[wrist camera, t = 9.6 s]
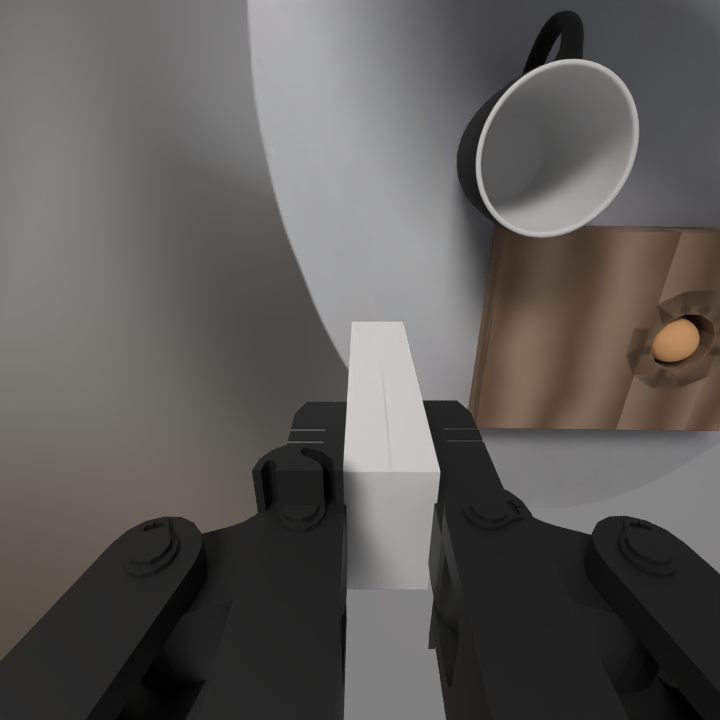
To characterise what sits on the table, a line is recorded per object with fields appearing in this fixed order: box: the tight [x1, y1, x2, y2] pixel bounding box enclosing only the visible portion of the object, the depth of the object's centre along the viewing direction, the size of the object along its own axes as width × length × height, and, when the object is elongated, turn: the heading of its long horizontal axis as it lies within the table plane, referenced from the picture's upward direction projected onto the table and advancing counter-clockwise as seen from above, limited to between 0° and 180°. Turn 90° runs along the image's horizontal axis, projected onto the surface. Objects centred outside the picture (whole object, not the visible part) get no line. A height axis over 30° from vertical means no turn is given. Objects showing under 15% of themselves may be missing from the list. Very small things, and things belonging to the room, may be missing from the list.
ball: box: [651, 317, 699, 362], centre depth 36 cm, size 4×4×4 cm
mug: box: [457, 11, 639, 238], centre depth 27 cm, size 12×9×10 cm
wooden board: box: [468, 225, 720, 431], centre depth 37 cm, size 23×18×3 cm
